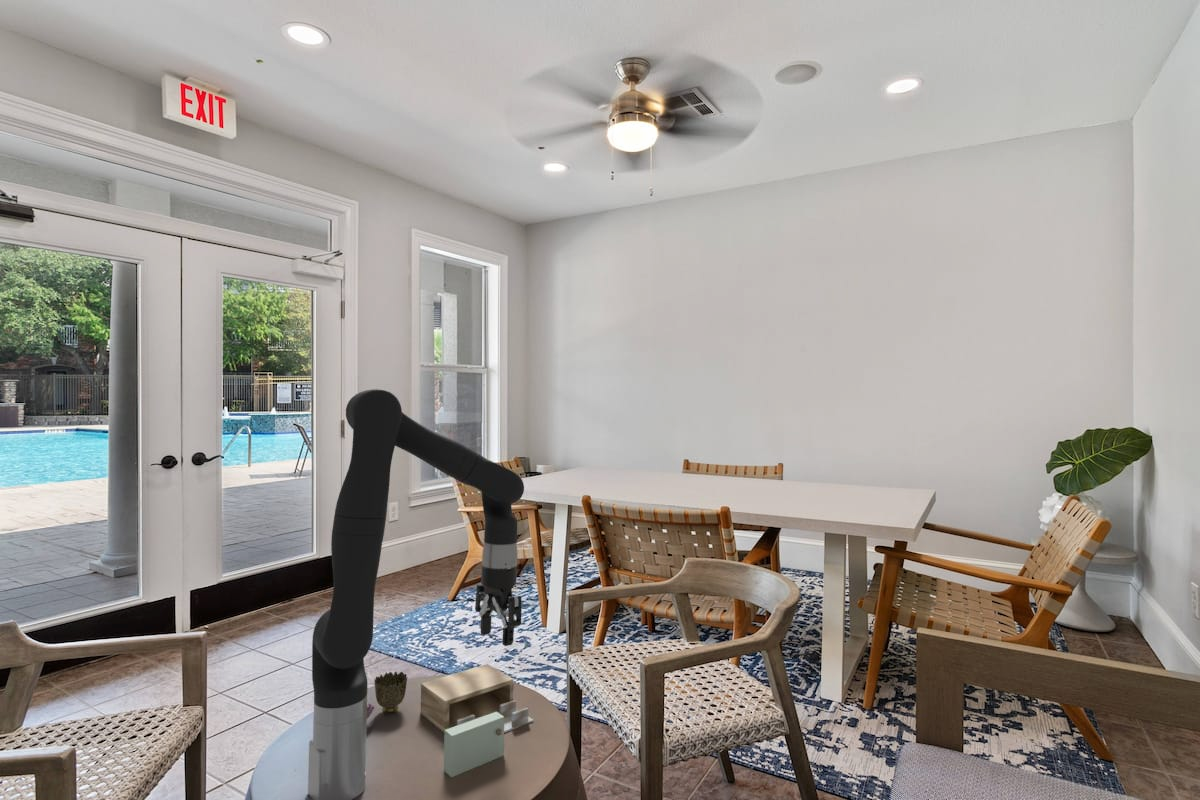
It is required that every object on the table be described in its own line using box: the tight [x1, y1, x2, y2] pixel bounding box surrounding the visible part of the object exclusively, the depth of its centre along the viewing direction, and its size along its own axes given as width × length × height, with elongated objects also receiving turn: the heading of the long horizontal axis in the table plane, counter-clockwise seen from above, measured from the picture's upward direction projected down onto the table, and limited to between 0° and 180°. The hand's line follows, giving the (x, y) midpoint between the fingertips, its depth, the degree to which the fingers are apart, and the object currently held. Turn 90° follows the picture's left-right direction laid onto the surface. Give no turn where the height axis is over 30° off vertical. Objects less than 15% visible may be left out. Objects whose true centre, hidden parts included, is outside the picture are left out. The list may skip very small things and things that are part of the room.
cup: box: [374, 671, 408, 715], centre depth 146 cm, size 8×7×8 cm
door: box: [443, 712, 505, 778], centre depth 125 cm, size 12×4×8 cm, turn 132°
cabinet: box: [420, 663, 534, 734], centre depth 144 cm, size 18×20×7 cm
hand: (496, 639), depth 132 cm, fingers open, 8 cm apart
